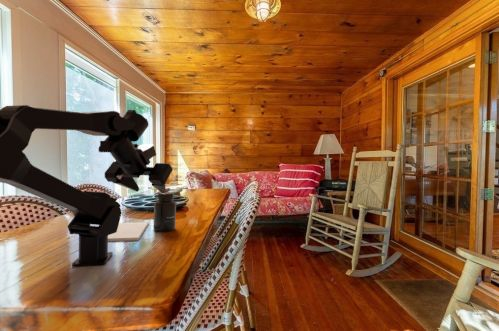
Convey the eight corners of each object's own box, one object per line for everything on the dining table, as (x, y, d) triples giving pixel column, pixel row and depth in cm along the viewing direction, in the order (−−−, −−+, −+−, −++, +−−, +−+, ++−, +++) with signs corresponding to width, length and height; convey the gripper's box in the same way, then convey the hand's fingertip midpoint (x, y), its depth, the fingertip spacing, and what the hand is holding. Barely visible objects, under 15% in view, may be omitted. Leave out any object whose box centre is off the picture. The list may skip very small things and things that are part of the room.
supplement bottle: (171, 232, 84) (172, 194, 84) (150, 231, 84) (150, 194, 84) (177, 227, 91) (178, 191, 91) (158, 226, 91) (158, 191, 91)
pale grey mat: (138, 240, 76) (138, 237, 76) (91, 241, 73) (91, 239, 73) (148, 224, 93) (148, 222, 93) (111, 225, 91) (111, 223, 91)
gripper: (169, 133, 72) (188, 172, 83) (112, 133, 77) (138, 170, 88) (150, 163, 65) (174, 201, 76) (89, 160, 70) (119, 197, 81)
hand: (151, 191), depth 80 cm, fingers open, 9 cm apart
